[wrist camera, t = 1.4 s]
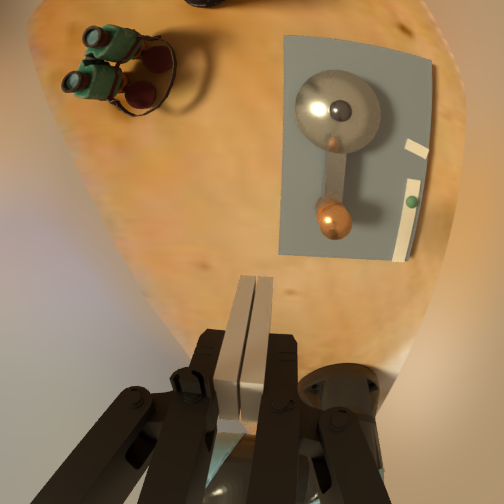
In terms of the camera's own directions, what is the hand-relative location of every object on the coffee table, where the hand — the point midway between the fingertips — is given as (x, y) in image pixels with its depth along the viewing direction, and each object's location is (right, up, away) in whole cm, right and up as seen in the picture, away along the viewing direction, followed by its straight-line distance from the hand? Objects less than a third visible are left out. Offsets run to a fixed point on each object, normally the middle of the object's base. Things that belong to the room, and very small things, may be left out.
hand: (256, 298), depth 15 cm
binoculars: (-12, +22, +11) cm, 28 cm away
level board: (+11, +13, +13) cm, 21 cm away
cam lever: (+8, +13, +11) cm, 19 cm away
